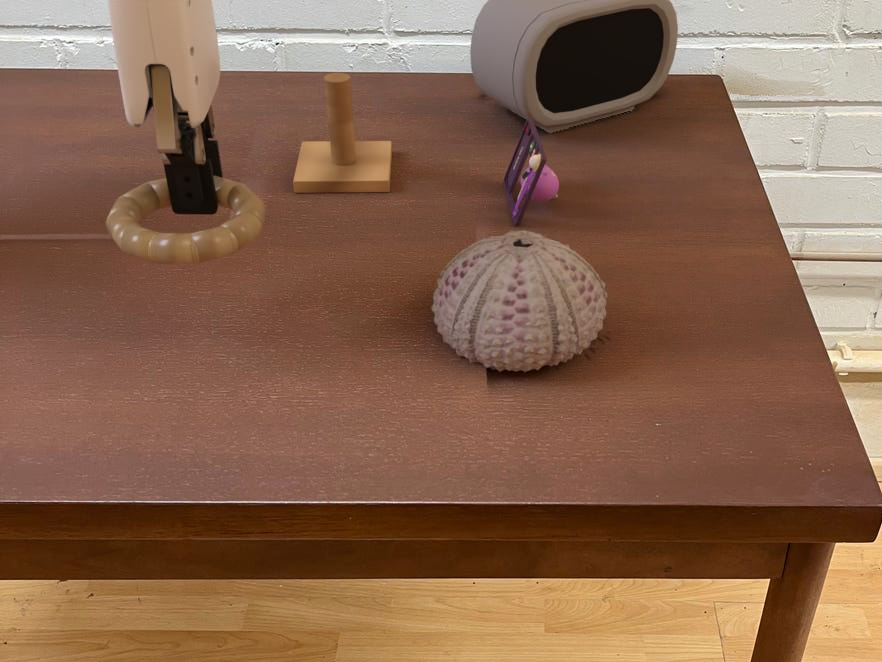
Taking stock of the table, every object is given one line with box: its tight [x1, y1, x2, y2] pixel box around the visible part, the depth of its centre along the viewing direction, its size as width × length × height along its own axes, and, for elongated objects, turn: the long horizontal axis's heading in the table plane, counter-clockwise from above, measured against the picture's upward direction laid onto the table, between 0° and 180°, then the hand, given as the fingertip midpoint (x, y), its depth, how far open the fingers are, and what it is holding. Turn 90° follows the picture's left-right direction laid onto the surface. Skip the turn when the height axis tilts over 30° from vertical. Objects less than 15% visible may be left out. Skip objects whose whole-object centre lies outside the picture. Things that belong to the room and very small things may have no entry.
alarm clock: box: [469, 0, 679, 134], centre depth 106 cm, size 21×10×13 cm, turn 123°
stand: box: [292, 72, 393, 194], centre depth 96 cm, size 9×9×9 cm
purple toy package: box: [502, 117, 560, 227], centre depth 92 cm, size 7×5×9 cm
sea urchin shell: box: [430, 229, 609, 373], centre depth 75 cm, size 13×14×8 cm
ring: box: [105, 176, 267, 265], centre depth 70 cm, size 11×11×2 cm
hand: (199, 200), depth 74 cm, fingers closed on ring, 2 cm apart
